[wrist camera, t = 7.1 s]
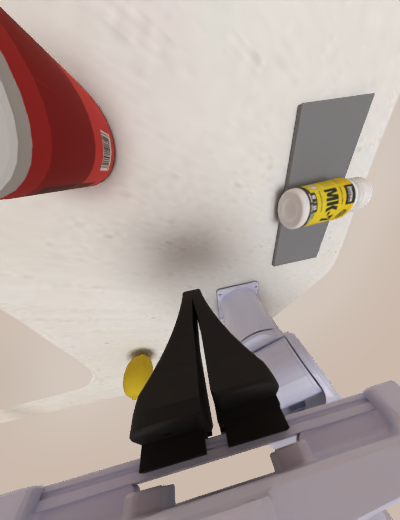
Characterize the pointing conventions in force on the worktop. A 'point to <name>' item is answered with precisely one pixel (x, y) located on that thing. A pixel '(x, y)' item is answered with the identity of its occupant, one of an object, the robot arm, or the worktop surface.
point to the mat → (319, 163)
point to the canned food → (46, 122)
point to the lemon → (137, 375)
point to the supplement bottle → (323, 201)
